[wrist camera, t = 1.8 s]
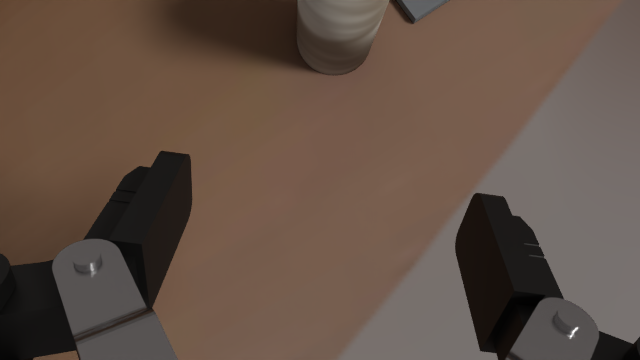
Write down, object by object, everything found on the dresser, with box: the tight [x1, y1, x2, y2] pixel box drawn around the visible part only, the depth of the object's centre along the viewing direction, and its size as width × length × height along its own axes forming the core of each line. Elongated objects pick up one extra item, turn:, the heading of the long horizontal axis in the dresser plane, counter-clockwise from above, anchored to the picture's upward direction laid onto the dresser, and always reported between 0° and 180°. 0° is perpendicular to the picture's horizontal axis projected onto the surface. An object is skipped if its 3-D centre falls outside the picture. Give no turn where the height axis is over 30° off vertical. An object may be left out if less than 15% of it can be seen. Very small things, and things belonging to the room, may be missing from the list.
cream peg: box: [297, 0, 389, 75], centre depth 26 cm, size 5×5×10 cm
